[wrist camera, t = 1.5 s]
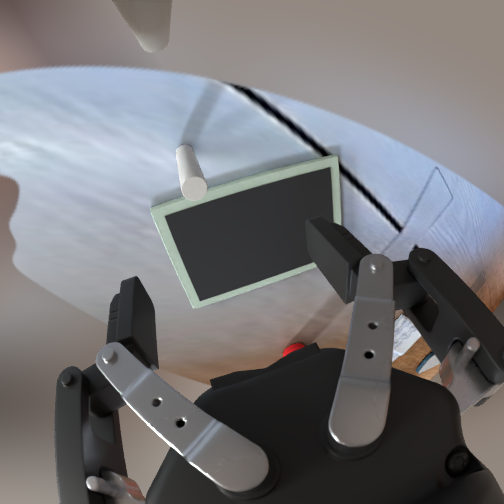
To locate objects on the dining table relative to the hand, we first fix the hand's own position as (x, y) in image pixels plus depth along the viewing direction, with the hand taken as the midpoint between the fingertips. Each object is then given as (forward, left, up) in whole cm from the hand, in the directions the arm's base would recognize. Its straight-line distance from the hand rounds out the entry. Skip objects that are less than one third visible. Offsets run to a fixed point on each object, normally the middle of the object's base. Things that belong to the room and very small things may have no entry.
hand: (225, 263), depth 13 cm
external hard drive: (+91, +67, -20) cm, 115 cm away
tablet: (+12, +6, -20) cm, 24 cm away
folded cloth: (+58, +34, -20) cm, 70 cm away
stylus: (-1, 0, -20) cm, 20 cm away
